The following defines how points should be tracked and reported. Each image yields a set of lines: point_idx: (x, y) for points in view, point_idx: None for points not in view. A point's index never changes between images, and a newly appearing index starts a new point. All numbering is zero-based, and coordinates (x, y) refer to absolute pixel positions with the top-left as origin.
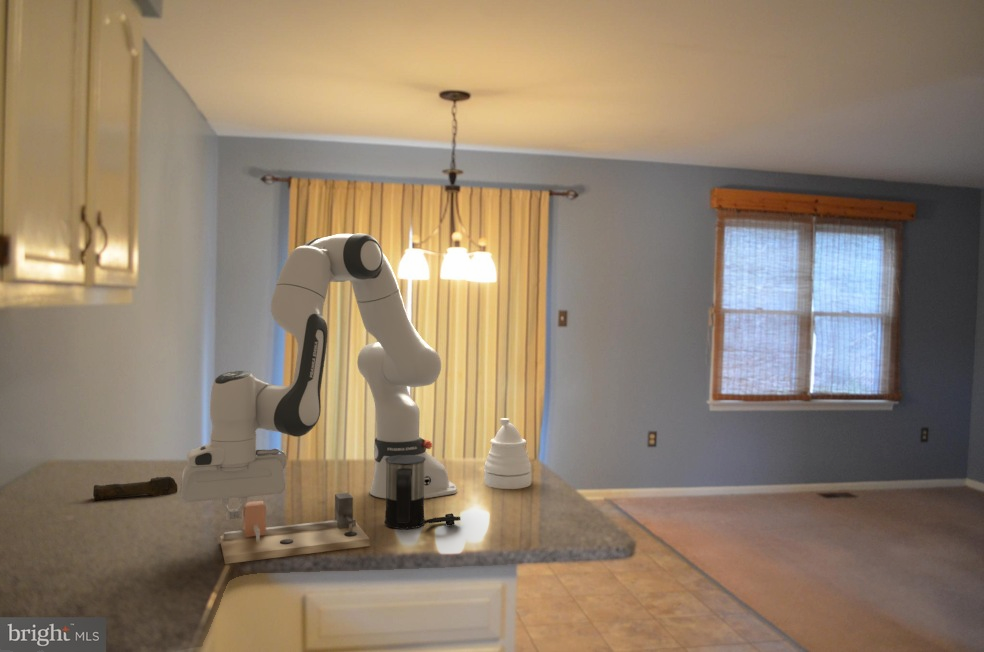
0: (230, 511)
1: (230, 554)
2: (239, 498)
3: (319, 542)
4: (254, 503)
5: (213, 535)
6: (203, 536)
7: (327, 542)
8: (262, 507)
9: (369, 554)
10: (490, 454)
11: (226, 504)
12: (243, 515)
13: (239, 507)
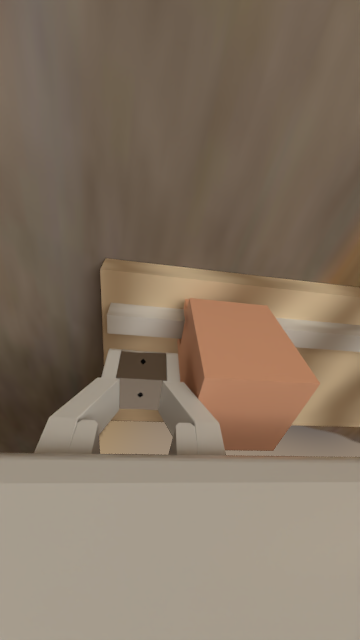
0: (120, 406)
1: (119, 416)
2: (174, 444)
3: (319, 416)
4: (254, 407)
5: (77, 128)
6: (26, 116)
7: (331, 420)
8: (258, 446)
9: (356, 439)
10: None
11: (93, 413)
12: (191, 345)
13: (166, 414)
